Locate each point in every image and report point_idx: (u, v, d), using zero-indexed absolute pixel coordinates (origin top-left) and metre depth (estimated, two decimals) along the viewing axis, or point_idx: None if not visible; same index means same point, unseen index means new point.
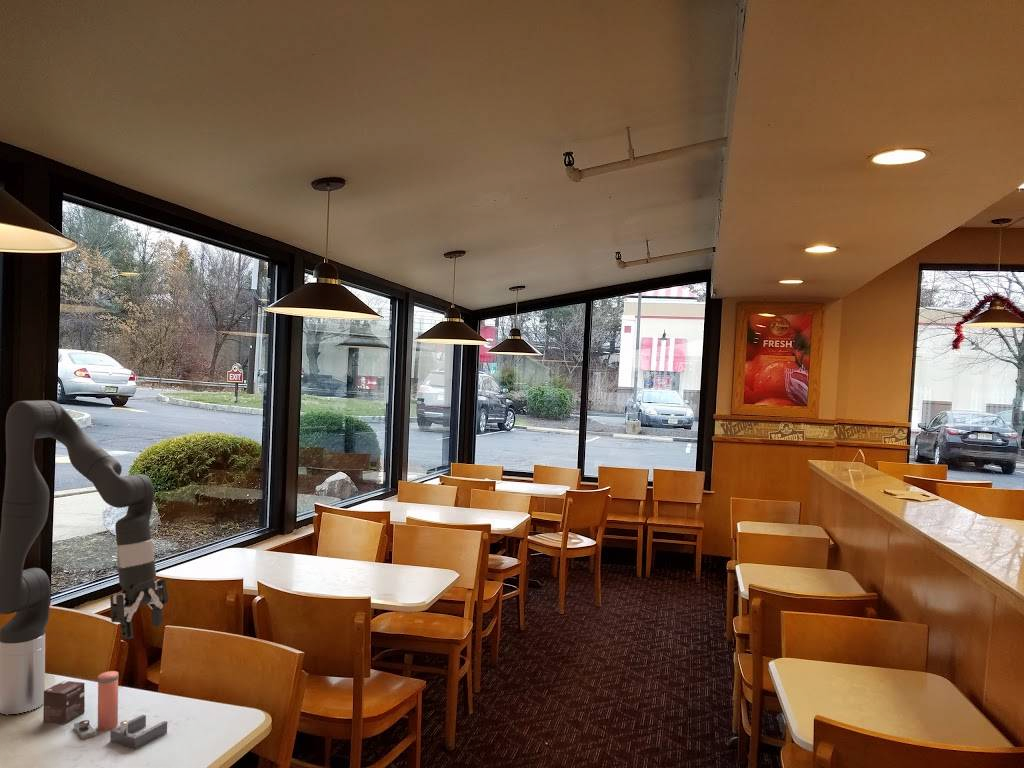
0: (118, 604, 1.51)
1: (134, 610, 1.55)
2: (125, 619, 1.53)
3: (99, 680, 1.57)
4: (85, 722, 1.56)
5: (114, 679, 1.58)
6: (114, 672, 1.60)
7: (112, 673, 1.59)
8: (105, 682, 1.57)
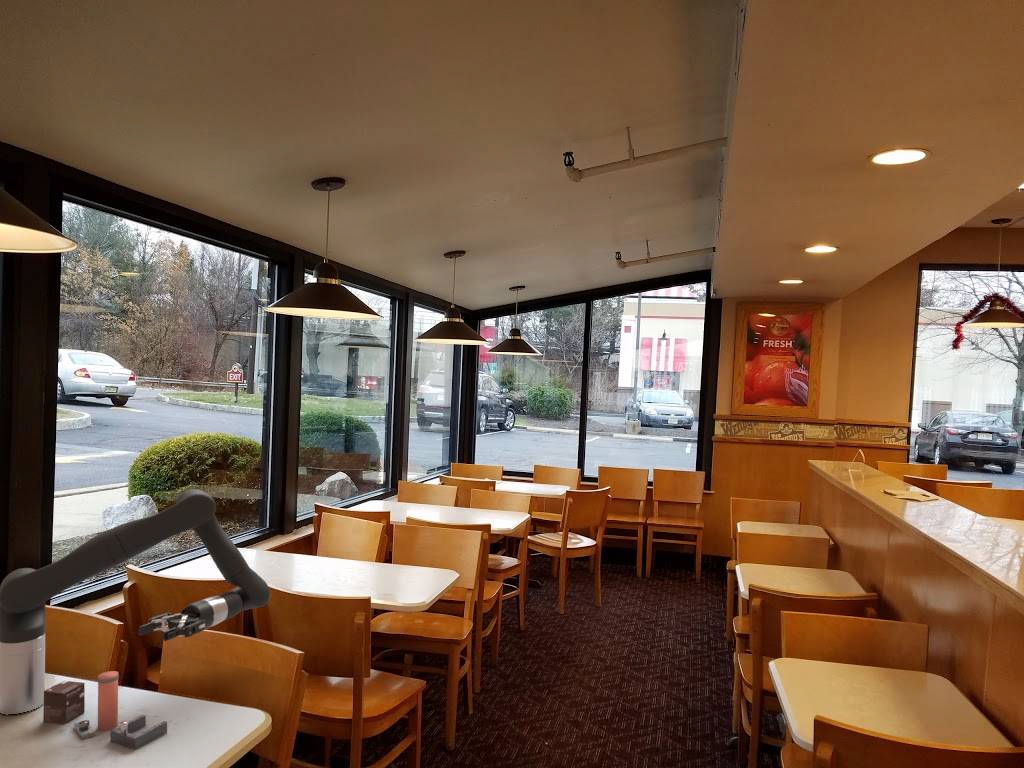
0: (199, 631, 1.74)
1: None
2: (182, 634, 1.71)
3: (99, 680, 1.57)
4: (85, 722, 1.56)
5: (114, 679, 1.58)
6: (114, 672, 1.60)
7: (112, 673, 1.59)
8: (105, 682, 1.57)
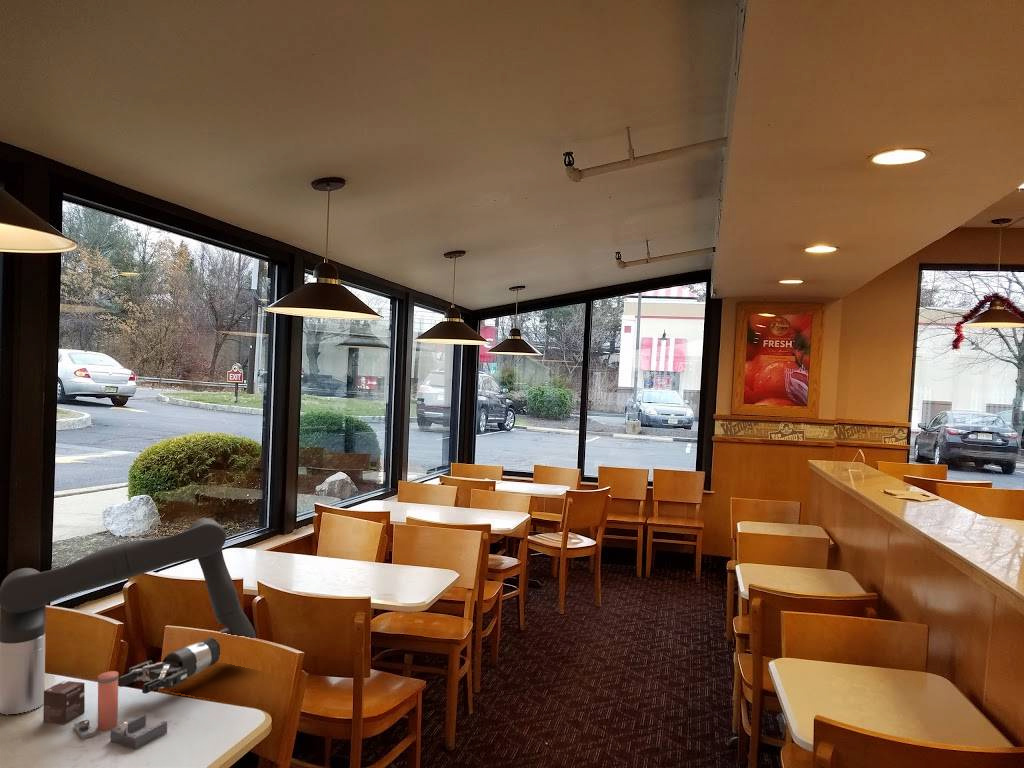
0: (181, 681, 1.69)
1: None
2: None
3: (99, 680, 1.57)
4: (85, 722, 1.56)
5: (114, 679, 1.58)
6: (114, 672, 1.60)
7: (112, 673, 1.59)
8: (105, 682, 1.57)
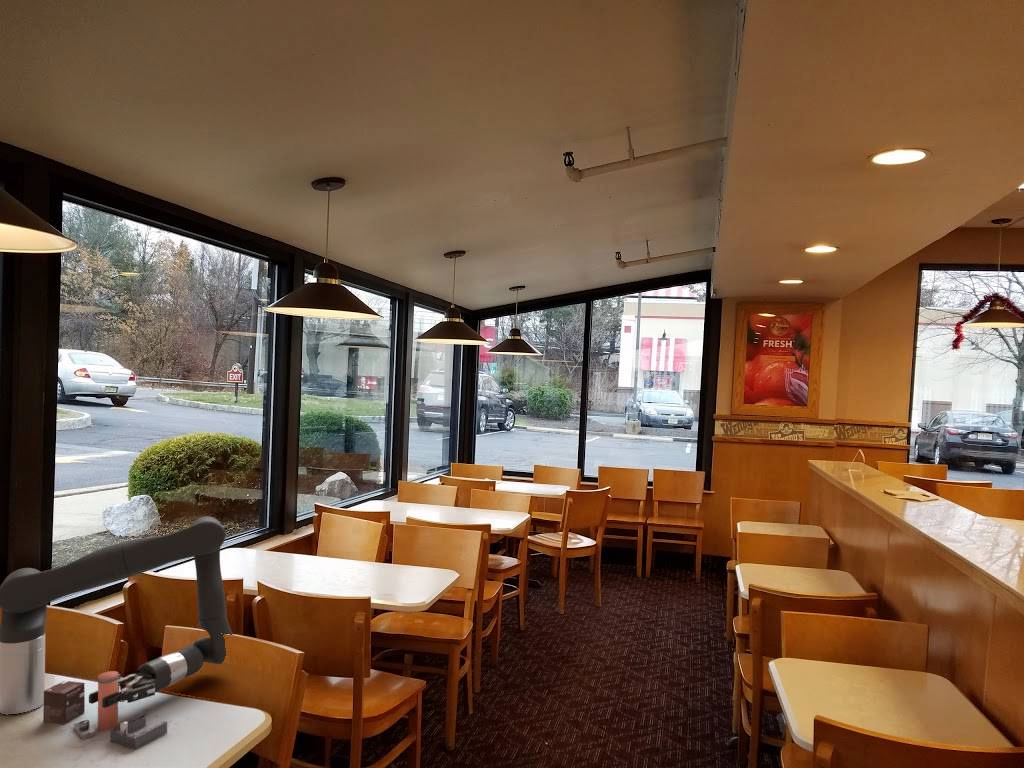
0: (146, 696, 1.61)
1: None
2: (124, 699, 1.59)
3: (99, 680, 1.57)
4: (85, 722, 1.56)
5: (114, 679, 1.58)
6: (114, 672, 1.60)
7: (112, 673, 1.59)
8: (106, 682, 1.57)
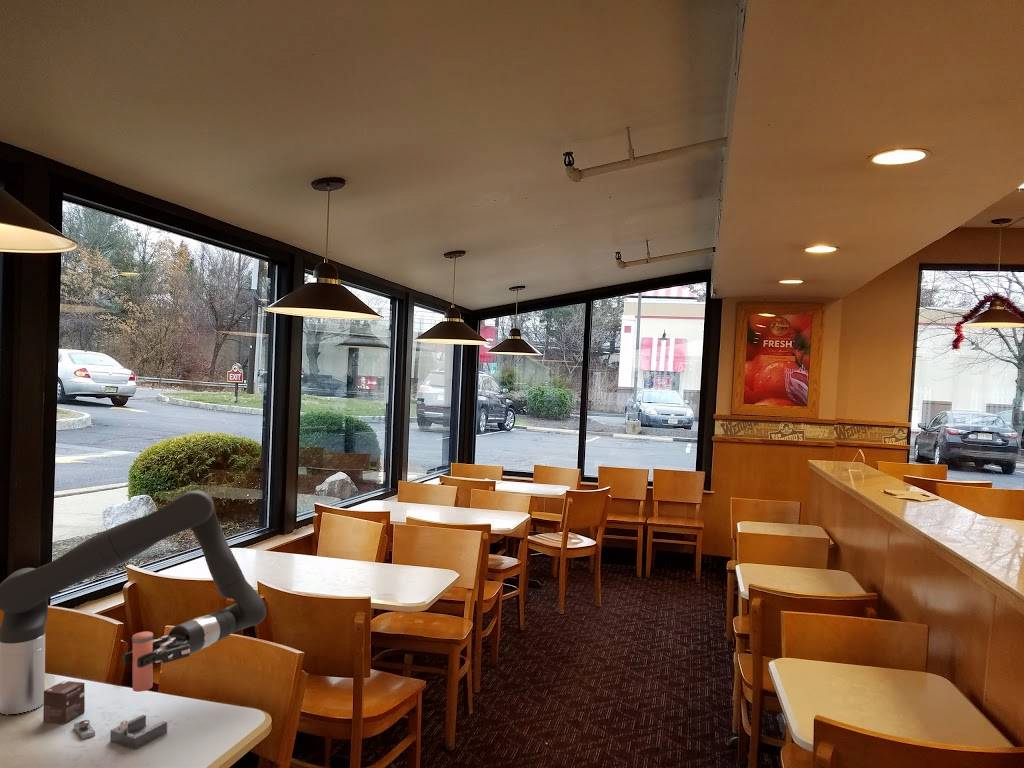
0: (181, 657, 1.57)
1: None
2: None
3: (134, 640, 1.53)
4: (85, 722, 1.56)
5: (149, 639, 1.54)
6: (148, 632, 1.56)
7: (147, 633, 1.55)
8: (140, 642, 1.53)
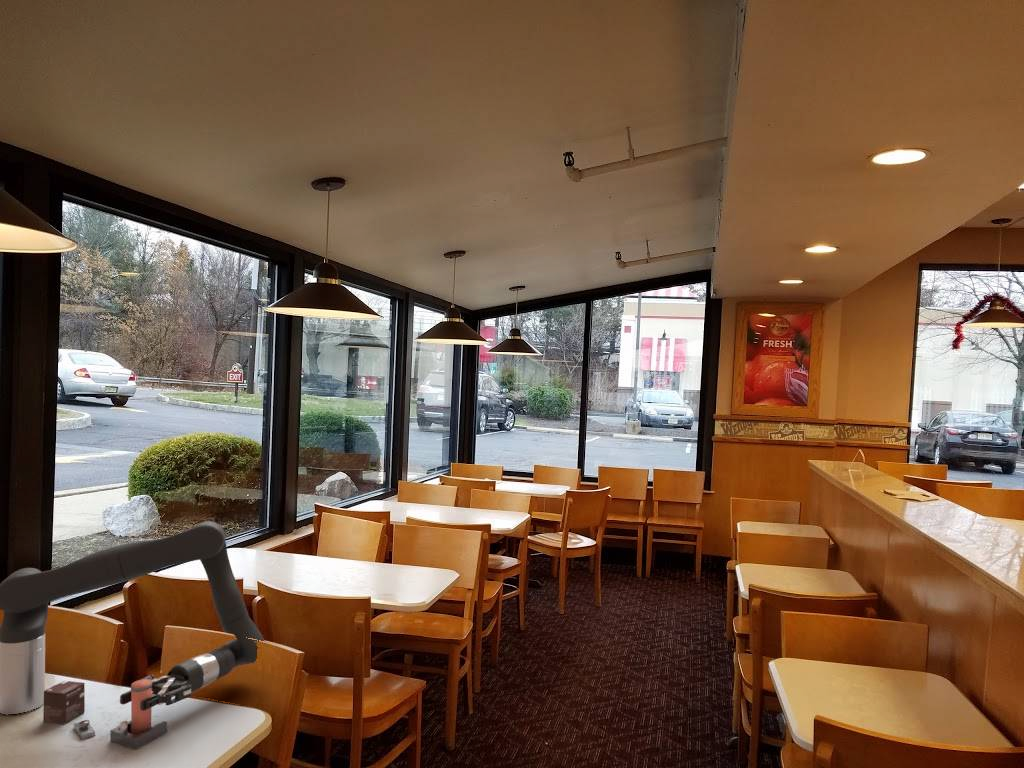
0: (183, 698, 1.57)
1: None
2: None
3: (133, 688, 1.53)
4: (85, 722, 1.56)
5: (148, 687, 1.54)
6: (147, 680, 1.56)
7: (146, 681, 1.55)
8: (139, 691, 1.53)
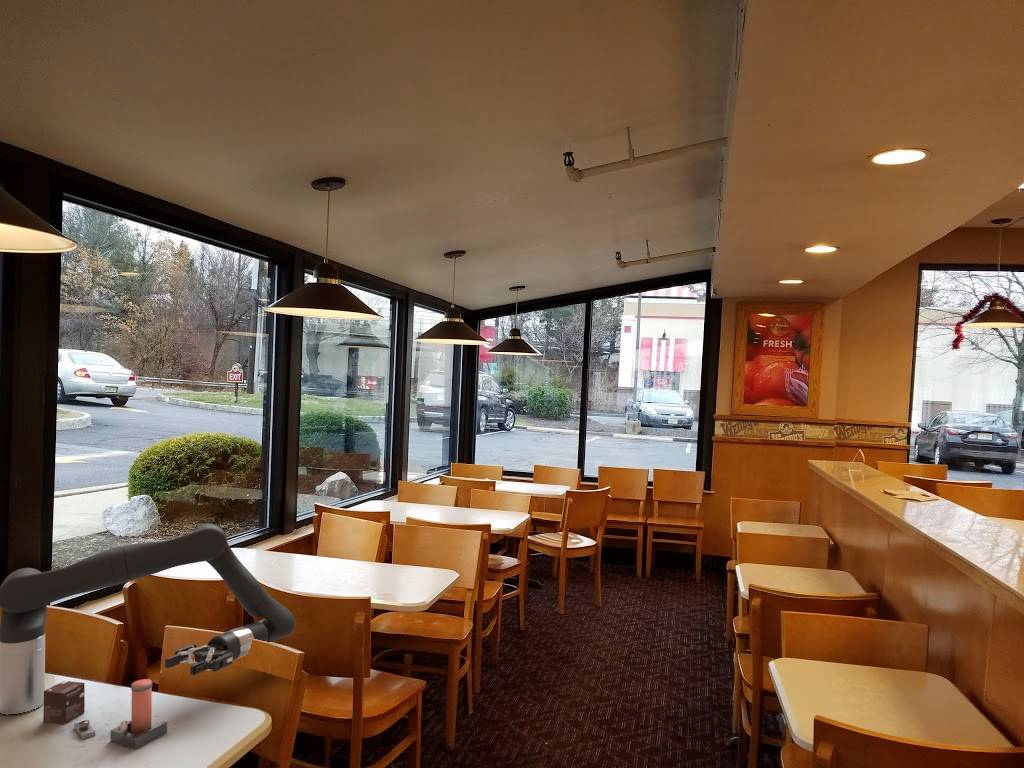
0: (227, 664, 1.69)
1: None
2: (210, 668, 1.67)
3: (133, 688, 1.53)
4: (85, 722, 1.56)
5: (148, 687, 1.54)
6: (148, 680, 1.56)
7: (146, 681, 1.55)
8: (139, 691, 1.53)
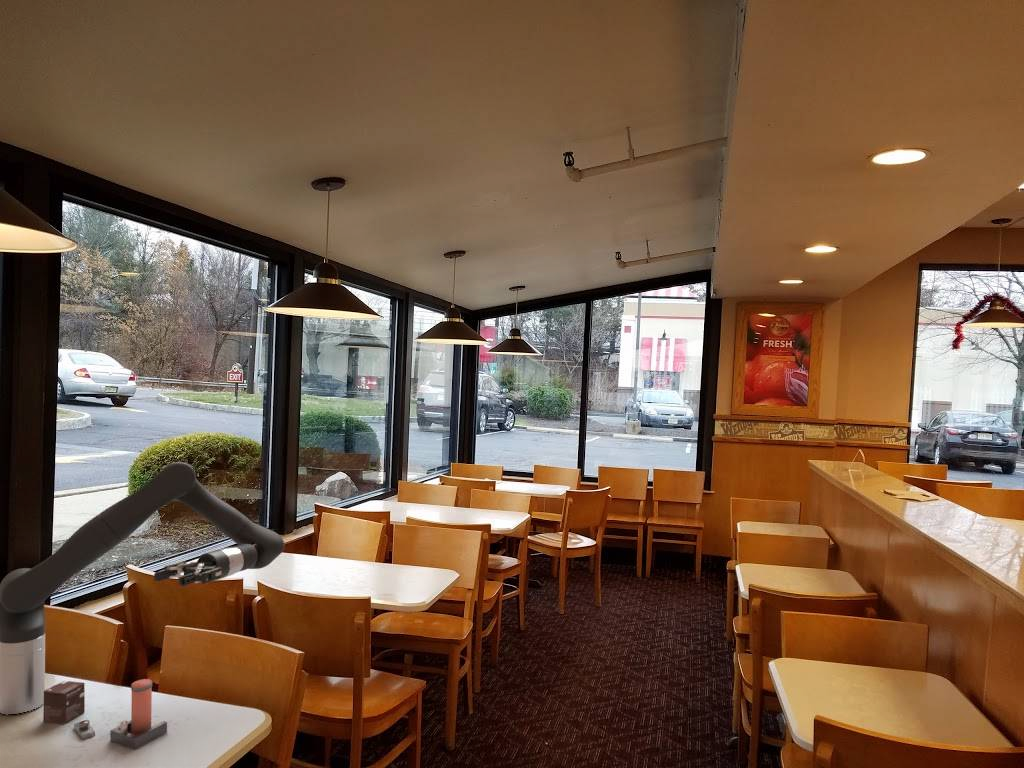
0: (216, 578, 1.71)
1: None
2: (198, 581, 1.68)
3: (133, 688, 1.53)
4: (85, 722, 1.56)
5: (148, 687, 1.54)
6: (147, 680, 1.56)
7: (146, 681, 1.55)
8: (139, 691, 1.53)
